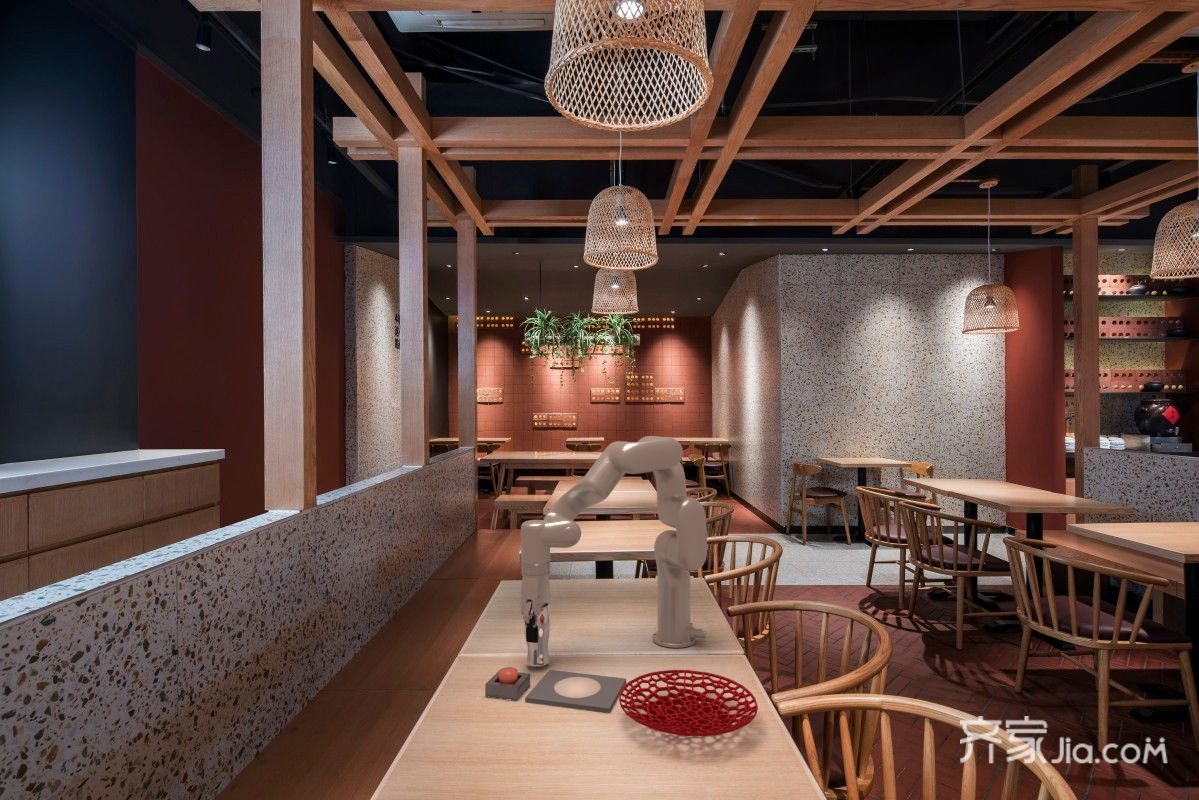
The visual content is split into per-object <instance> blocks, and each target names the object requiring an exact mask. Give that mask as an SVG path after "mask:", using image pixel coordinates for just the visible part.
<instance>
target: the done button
mask: <svg viewBox="0 0 1199 800" xmlns="http://www.w3.org/2000/svg"><path fill="white" fill-rule="evenodd" d="M498 671H499V683H506V684H515V683H516V682H517V681H518V672H519V670H518V669H517V667H512V666H509V667H508V666H507V667H504V668H500V669H499V670H498Z"/></svg>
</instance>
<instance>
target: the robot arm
mask: <svg viewBox="0 0 1199 800" xmlns="http://www.w3.org/2000/svg"><path fill="white" fill-rule="evenodd" d="M683 455H684V450H683V447H682V444H681V442H679V441H678V440H677V439H675V438H673V437H668V436H656V435H648V436H643V437H641V438H640V439H639V440H638V441H636V442H635V441H624V440H623V441H621V440H620V441H619V440H617V441H612V442H611V443H609V445H607V447H606V448H605V449H604V450H603V452H601V454H600V456H599V457H598V458H597V459H596V461H595V462H594V463H593V465H592V466H591V467H590V468H589V470H588V471H587V473H586V474H585V475H584V476H583V478H582V479H581V480H580V481H579V482H577V483H576V484H574V486H571V487H570V489H568V490H567V491H566V492H565V493H564V494H562V496H560V497H559V498H558V500H556V502H555V503H554V504H553V505H552V507H551V508H550V509H549V511H548V512H547V513H546V515H545V516H544V517H543V520H542V519H531V520H526V521H524V522H522V524H521V526H520V551H521V553H520V556H521V559H520V560H521V576H522V579H521V587H520V614H521V615H522V619H523V623H524V622H525V627H526V636H525V642H526V643H527V642H531V643H537V642H538V627H537V617H538V615H540V613H541V608H543V607H546V606H547V603H549V606H550V604H551V586H550V575H551V548H555V549H556V548H557V549H568V548H572V547H574V546H576V545H577V544H578V543H579V541H580V540H581V538H582V529H581V527H580V526H579V524H578V523H577V522H576V521H575V519H576V518H577V517H578V515H580V514H581V513H582V512H583V511H584V510H586V509H587V508H589V507H592V506H593V505H597V504H599V503H601V502H603V501H605V500H606V499H608V497H609V496H610V494H611V493H613V490H614V489H615V487H616V486H617V485H618V484H619V483H620V481H621V479H623V477H624V476H625V475H626V474H631V475H635V474H636V475H637V474H644V473H651V472H652V473H653V474H654V477H655V484H656V506H657V518H658V520H659V521H660V522H661V523H662V524H664V525H665V526H667V527H670V528H674V529H675V530H673V529H668V530H664V531H662V532H661V533H659V534H658V535H657V537H656V539H655V541H654V546H653V550H654V551H653V552H654V557H655V563H656V572H657V573H656V574H657V577H656V579H657V590H656V591H657V630H656V631H655V632H653V634H652V635H651V636H652V641H653V643H654V644H657V645H659V646H661V647H666V648H670V649H671V648H673V649H681V648H687V647H691V646H693V645H694V644H696V642H697V638H700V639H707V631H706V630H704V629H703V628H695V627H693V626H694V624H693V622H691V620H692V619H691V574H690V572H694V571H695V572H696V571H697V570H700V569H701V568H702V567H703V566H704V564H705V562H706V561H707V556H708V555H707V554H708V536H707V535H708V531H707V529H708V528H707V517H706V516H707V515H706V511H705V508H704V506H703V505H702V503H701V501H699V500H697V499H696V498H694V497H692V496H688V494H687V485H686V474H685V471H684V467H683V466H682V463H681V461H682V459H683ZM532 609H533V610H534V611H535V614H530V613H531V610H532ZM531 617H534V621H533V620H532V619H531Z"/></svg>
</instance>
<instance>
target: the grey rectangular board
mask: <svg viewBox="0 0 1199 800" xmlns="http://www.w3.org/2000/svg"><path fill="white" fill-rule="evenodd" d="M626 684H627V678H625V677H624V678H623V677H615V676H606V675H599V674H590V673H582V672H581V673H580V672H573V671H566V670H565V671H563V670H558V669H557V670H555V669H548V671H547V672H546V673H545V674H544V675H543V676H542V677H541V679H540V680H539V681H538V682H537V684H535V686H534V687H533V688H532V689H531V690H530V691H529V693H528V694H527V695H526V696H525V697H524V702H525V703H530V704H536V705H537V704H538V705H545V706H552V707H561V708H567V709H575V710H582V711H583V710H584V711H591V712H598V713H605V714H610V713H611V711H612V710H613V708H614V706H615V704H616V702H617V700H619V695H620V691H621V690H622V688H623V686H625V685H626Z"/></svg>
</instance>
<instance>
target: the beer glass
mask: <svg viewBox="0 0 1199 800" xmlns="http://www.w3.org/2000/svg"><path fill="white" fill-rule="evenodd" d="M530 614H535V611H534V610H533V609H532V610H531V613H530ZM531 619H532V620H533V621H534V617H531ZM537 627H538V642H537V643H531V642H526V645H527V653H526V654H527V655H526V663H525V664H526V665H527V666H529V667H534V668H535V667H536V668H539V667H544V666H546V665H549V663H550V660H551V659H550V654H549V641H550V640H549V639H550V631H551V610H550V605H549V603H547V606H546V607H543V608H541V613H540V615H538V617H537ZM523 628H524V629H523V630H524V635H525V637H526V627H525V622H524V621H523Z"/></svg>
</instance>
